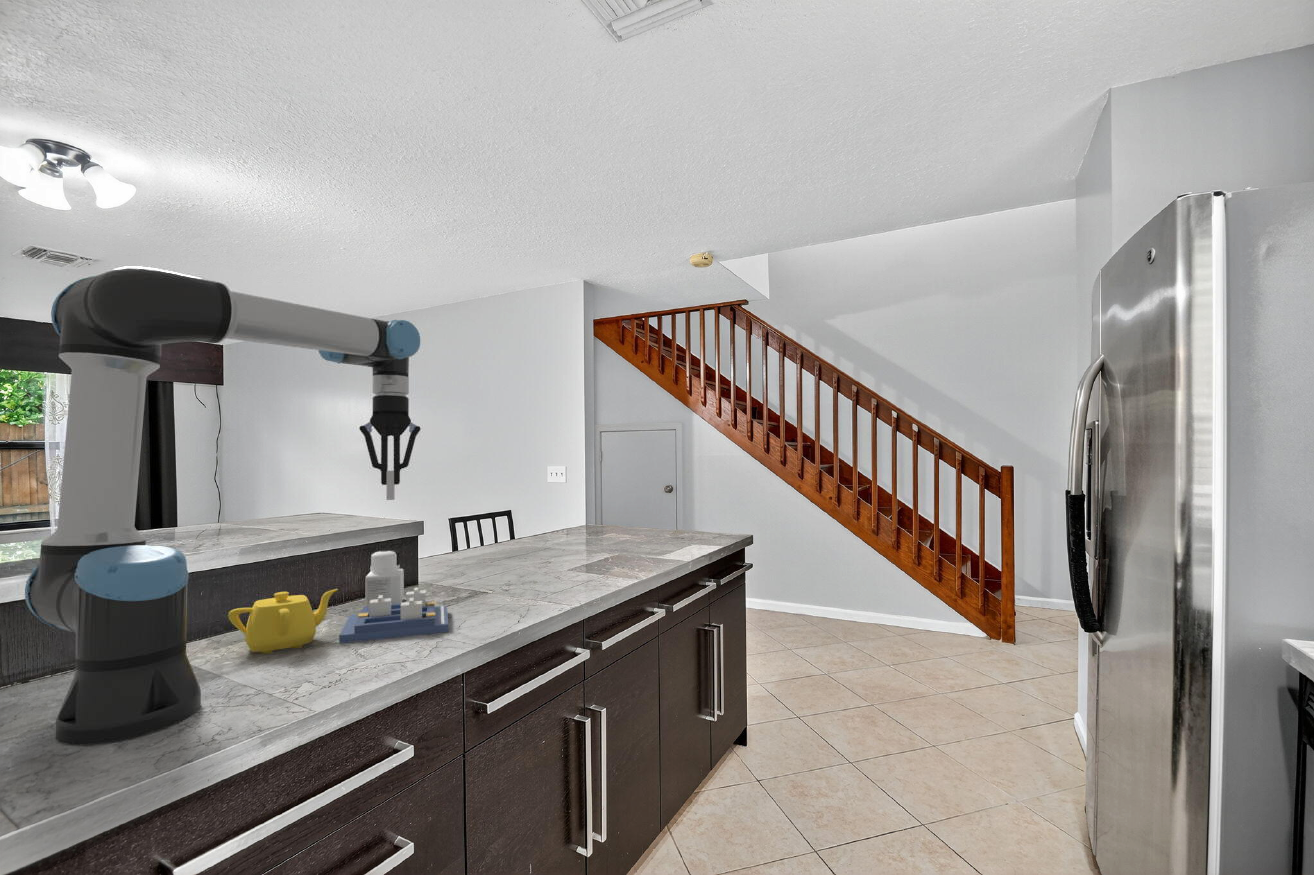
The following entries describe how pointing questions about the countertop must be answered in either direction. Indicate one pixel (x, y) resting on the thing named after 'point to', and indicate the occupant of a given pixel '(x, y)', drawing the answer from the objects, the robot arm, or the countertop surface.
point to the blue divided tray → (394, 624)
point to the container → (385, 577)
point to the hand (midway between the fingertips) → (390, 499)
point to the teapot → (280, 622)
